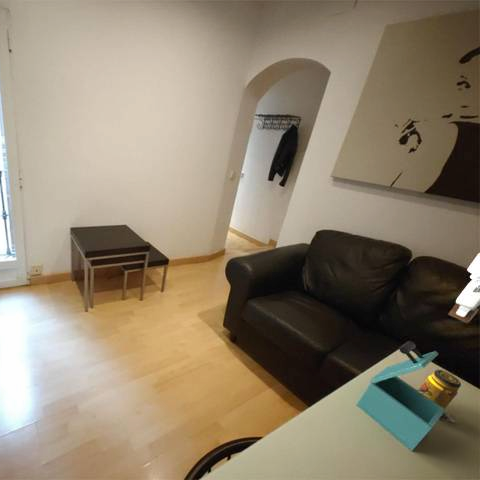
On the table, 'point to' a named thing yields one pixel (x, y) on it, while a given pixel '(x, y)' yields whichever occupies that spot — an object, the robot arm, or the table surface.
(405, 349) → the teal box lid
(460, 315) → the robot arm
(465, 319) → the block
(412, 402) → the teal hinged box
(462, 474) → the table surface
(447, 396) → the condiment
